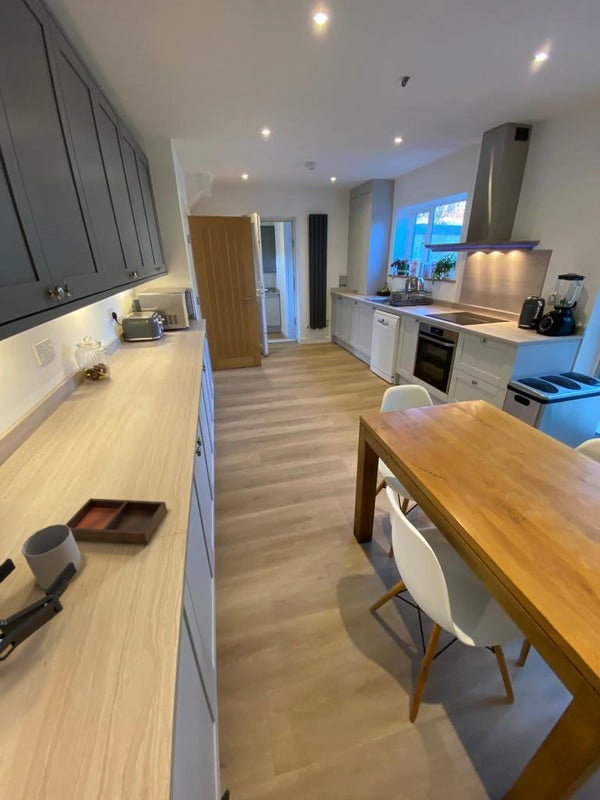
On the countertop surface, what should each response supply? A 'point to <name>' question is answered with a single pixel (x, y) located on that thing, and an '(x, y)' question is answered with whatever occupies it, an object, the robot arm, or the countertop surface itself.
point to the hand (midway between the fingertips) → (42, 564)
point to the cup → (51, 553)
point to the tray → (117, 521)
